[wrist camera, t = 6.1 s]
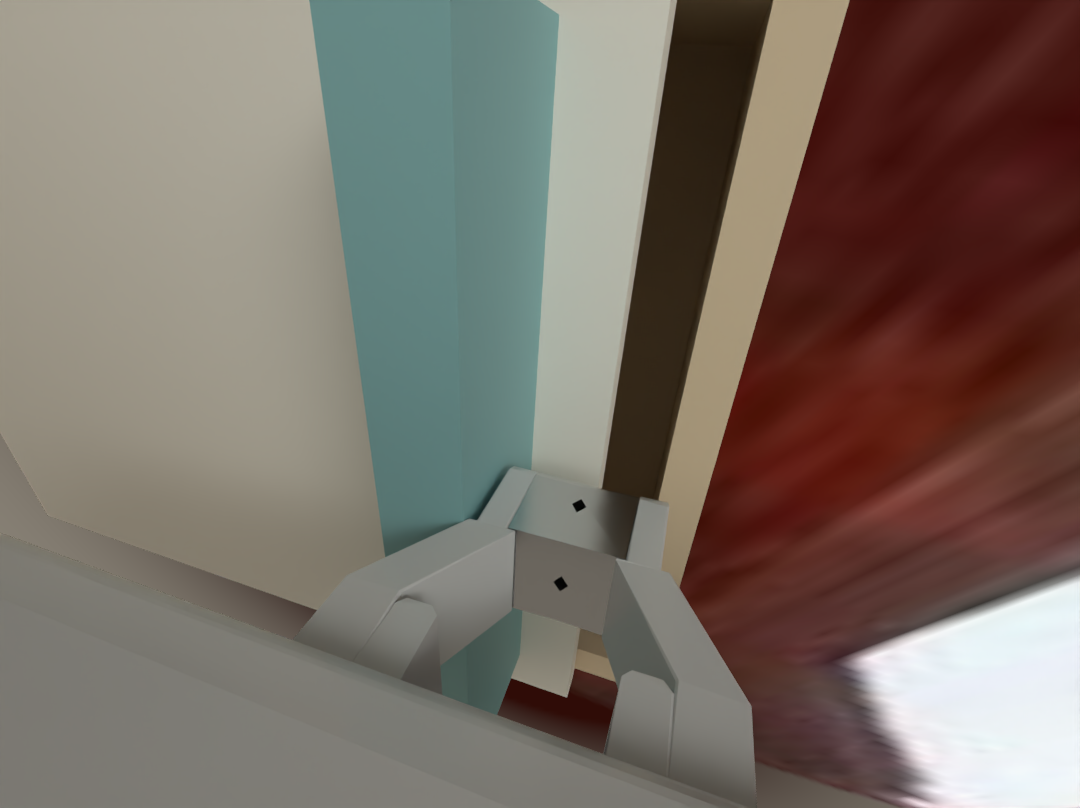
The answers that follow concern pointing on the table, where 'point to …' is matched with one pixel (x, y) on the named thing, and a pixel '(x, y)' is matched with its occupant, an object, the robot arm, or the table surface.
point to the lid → (320, 274)
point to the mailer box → (709, 245)
